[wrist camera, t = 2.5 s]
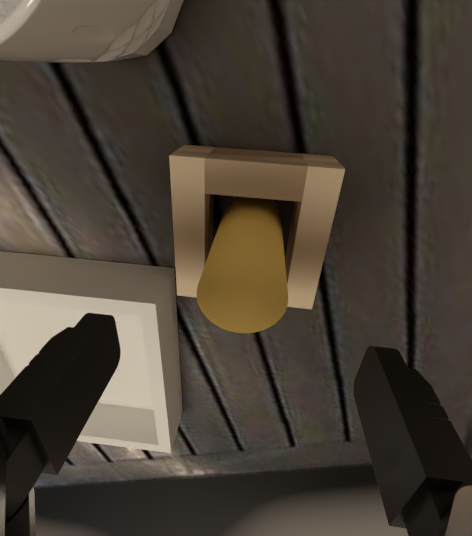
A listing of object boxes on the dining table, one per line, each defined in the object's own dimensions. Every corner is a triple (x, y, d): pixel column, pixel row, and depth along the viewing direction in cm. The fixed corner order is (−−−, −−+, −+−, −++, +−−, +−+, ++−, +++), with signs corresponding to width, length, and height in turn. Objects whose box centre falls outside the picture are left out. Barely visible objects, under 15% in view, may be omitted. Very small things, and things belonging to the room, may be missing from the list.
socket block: (184, 144, 16) (169, 155, 14) (333, 155, 16) (345, 169, 13) (188, 269, 21) (177, 295, 18) (306, 280, 20) (311, 309, 18)
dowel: (224, 188, 17) (195, 254, 11) (284, 193, 17) (295, 263, 10) (222, 242, 19) (196, 328, 12) (277, 248, 19) (281, 337, 12)
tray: (-47, 246, 21) (-107, 276, 18) (174, 268, 21) (155, 304, 17) (23, 390, 30) (-9, 429, 26) (182, 409, 29) (171, 453, 26)
